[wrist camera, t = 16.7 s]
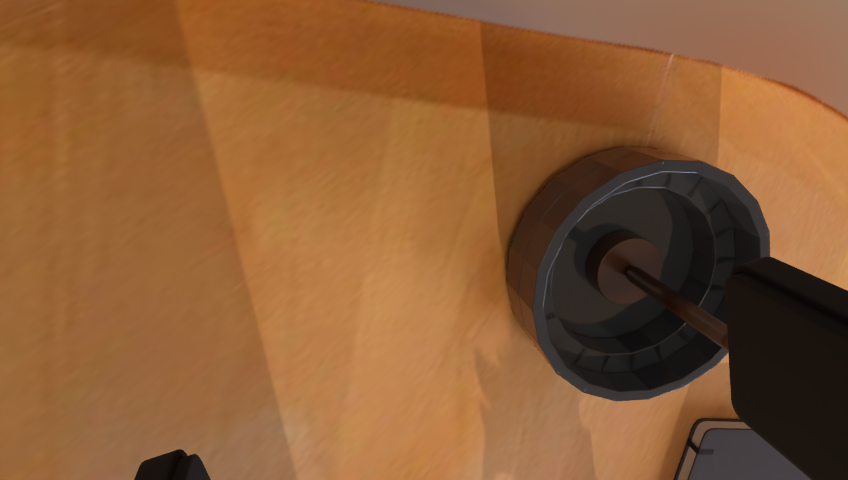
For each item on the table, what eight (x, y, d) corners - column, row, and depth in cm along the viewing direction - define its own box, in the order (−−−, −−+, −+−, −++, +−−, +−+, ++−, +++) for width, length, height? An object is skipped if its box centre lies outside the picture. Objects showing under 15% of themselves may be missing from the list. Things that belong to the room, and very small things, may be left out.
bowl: (482, 183, 41) (511, 205, 35) (706, 117, 42) (767, 128, 37) (526, 386, 47) (556, 432, 41) (719, 320, 49) (773, 356, 43)
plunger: (580, 241, 43) (692, 319, 30) (643, 221, 43) (779, 290, 31) (589, 302, 44) (699, 398, 32) (650, 282, 45) (780, 369, 33)
